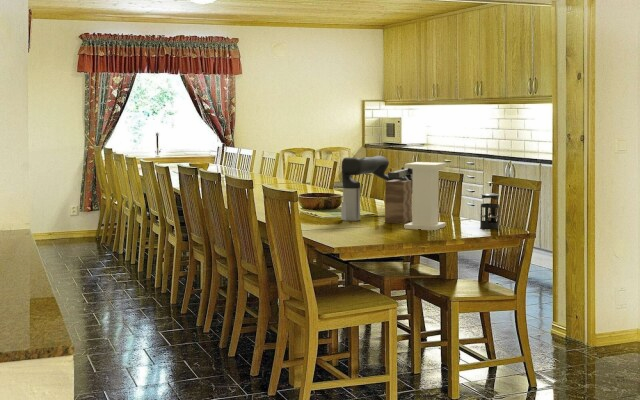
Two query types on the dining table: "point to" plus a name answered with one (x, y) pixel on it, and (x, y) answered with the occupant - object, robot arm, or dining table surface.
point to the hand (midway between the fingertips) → (405, 169)
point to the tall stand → (425, 196)
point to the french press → (493, 223)
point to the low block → (398, 201)
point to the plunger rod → (398, 173)
